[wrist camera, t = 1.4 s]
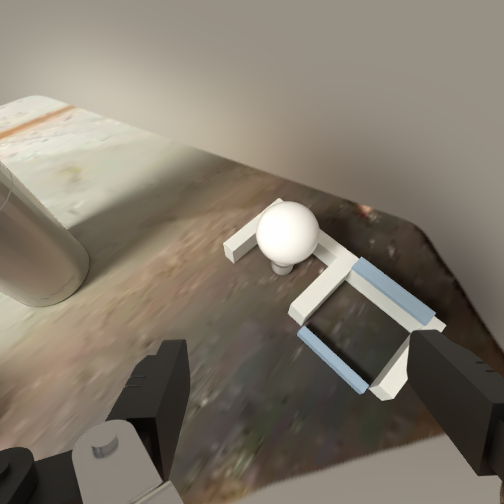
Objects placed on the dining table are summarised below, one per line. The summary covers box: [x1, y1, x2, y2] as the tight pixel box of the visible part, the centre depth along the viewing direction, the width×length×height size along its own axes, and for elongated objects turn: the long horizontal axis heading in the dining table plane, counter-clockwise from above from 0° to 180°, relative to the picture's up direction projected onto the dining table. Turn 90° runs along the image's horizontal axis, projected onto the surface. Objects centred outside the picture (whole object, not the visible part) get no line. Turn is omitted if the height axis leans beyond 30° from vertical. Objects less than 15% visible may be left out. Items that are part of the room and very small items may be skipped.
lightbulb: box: [256, 201, 320, 275], centre depth 33 cm, size 6×6×11 cm
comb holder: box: [223, 198, 446, 401], centre depth 35 cm, size 23×11×4 cm, turn 45°
